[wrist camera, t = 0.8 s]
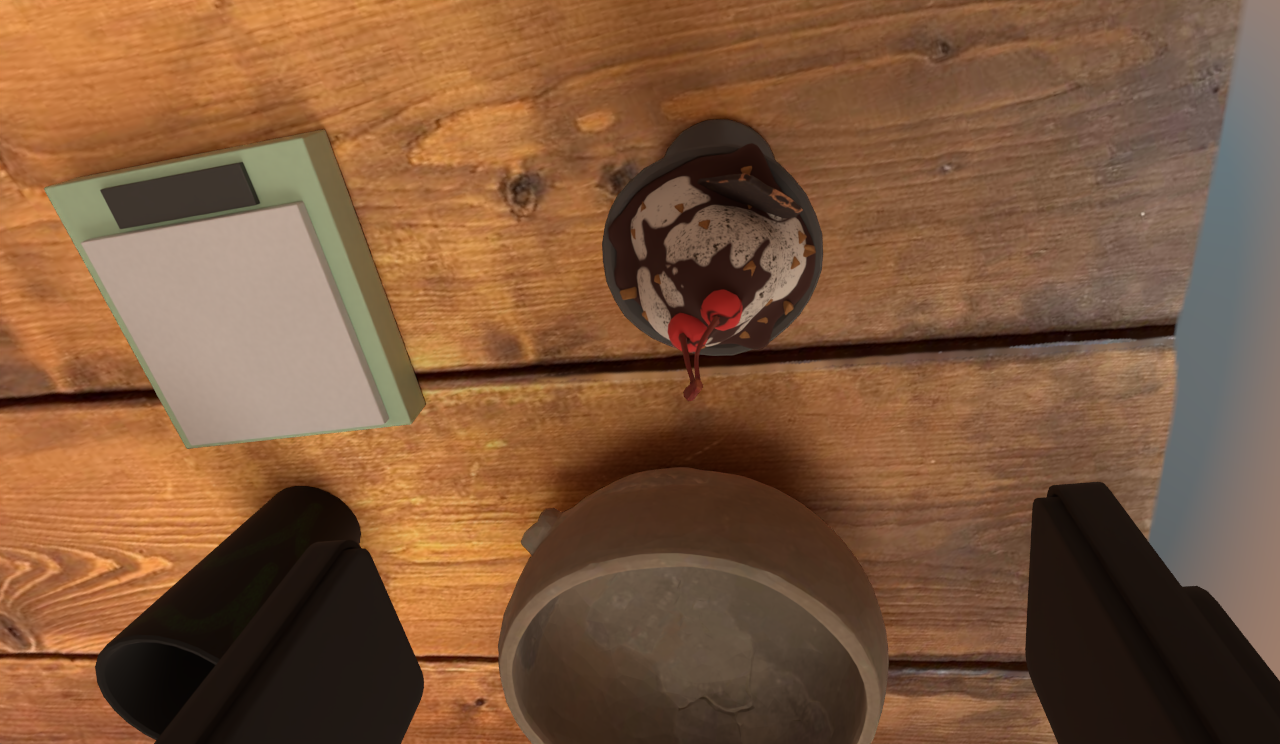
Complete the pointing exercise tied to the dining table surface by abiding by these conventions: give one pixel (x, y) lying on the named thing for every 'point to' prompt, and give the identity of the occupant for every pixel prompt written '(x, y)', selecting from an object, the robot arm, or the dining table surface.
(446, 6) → the dining table surface
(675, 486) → the bowl
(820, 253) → the sundae
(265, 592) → the cup
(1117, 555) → the robot arm
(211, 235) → the scale
